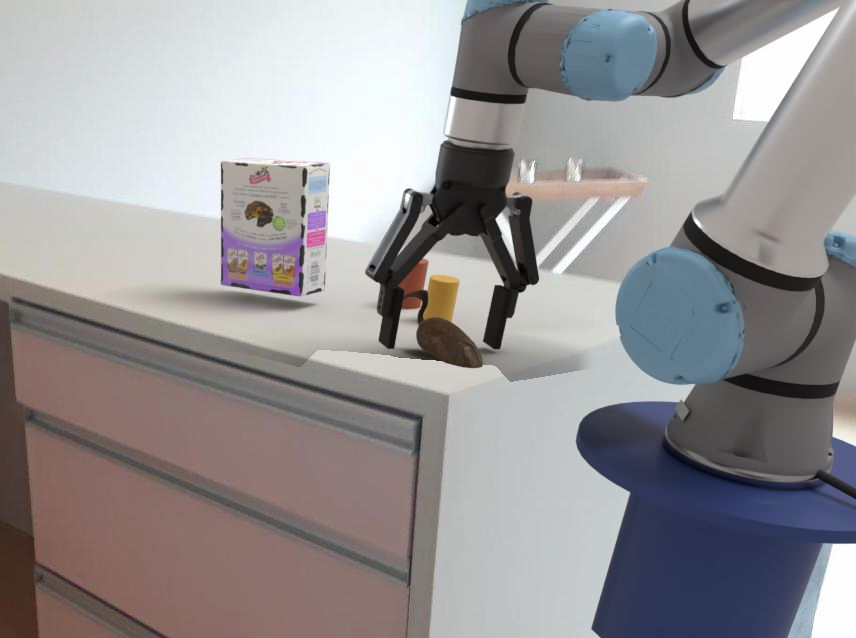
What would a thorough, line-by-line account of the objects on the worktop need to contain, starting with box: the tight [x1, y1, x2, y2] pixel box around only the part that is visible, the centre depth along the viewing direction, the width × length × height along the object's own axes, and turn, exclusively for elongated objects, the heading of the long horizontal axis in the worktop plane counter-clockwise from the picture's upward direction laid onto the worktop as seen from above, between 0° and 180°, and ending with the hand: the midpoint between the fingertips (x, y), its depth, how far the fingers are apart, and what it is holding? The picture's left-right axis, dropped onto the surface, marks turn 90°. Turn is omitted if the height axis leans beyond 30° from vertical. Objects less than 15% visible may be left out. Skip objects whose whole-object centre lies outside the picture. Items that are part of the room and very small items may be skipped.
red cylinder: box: [399, 258, 430, 310], centre depth 150 cm, size 4×4×7 cm
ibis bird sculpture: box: [403, 289, 484, 369], centre depth 127 cm, size 14×4×9 cm, turn 28°
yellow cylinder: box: [423, 274, 461, 323], centre depth 142 cm, size 4×4×7 cm
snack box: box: [220, 157, 331, 297], centre depth 151 cm, size 14×6×16 cm, turn 47°
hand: (439, 345), depth 128 cm, fingers open, 12 cm apart
